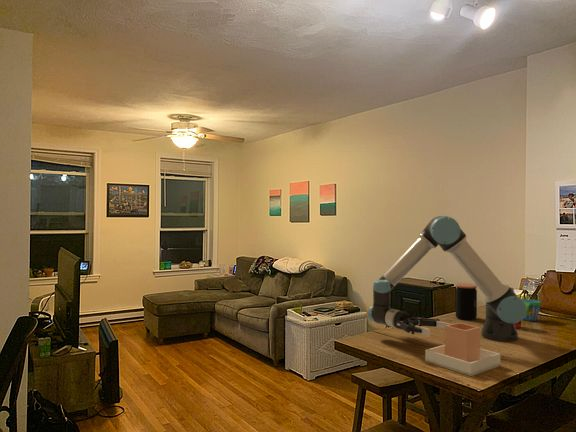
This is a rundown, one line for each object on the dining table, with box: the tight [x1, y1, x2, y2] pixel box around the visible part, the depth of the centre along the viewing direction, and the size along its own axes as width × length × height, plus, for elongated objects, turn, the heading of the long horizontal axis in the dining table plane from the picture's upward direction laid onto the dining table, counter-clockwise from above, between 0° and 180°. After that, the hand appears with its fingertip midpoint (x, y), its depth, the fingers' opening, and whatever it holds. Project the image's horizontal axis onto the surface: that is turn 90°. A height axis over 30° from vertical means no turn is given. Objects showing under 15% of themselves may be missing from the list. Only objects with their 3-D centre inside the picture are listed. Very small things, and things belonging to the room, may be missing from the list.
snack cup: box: [521, 298, 542, 322], centre depth 238 cm, size 16×10×10 cm
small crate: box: [444, 322, 481, 362], centre depth 168 cm, size 9×9×13 cm
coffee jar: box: [455, 283, 478, 321], centre depth 241 cm, size 11×11×18 cm
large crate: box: [425, 344, 501, 377], centre depth 168 cm, size 19×19×4 cm
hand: (440, 330), depth 176 cm, fingers open, 13 cm apart
